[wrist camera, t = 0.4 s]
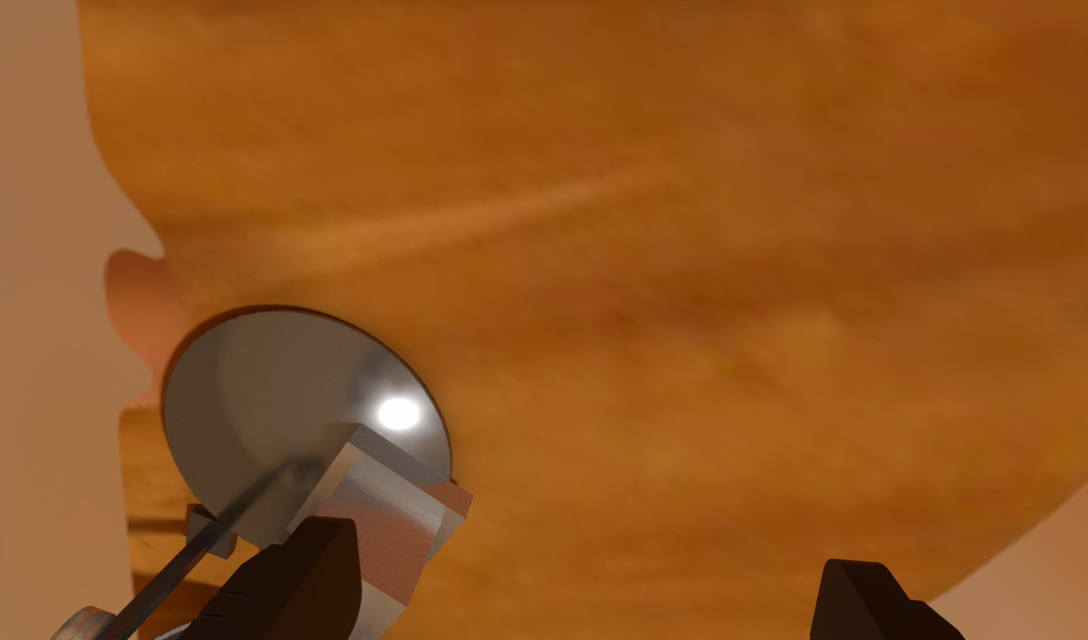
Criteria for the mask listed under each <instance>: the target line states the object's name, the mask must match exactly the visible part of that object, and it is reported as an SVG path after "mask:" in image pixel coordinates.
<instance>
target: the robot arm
mask: <svg viewBox="0 0 1088 640" xmlns="http://www.w3.org/2000/svg"><path fill="white" fill-rule="evenodd" d="M361 600H362V581H361V570H360V560H359V549H358V538H357V529H356V524H355V522H354V520H353V519H351V518H339V517H326V516H314V515H310V516H307V517H306V518H305V519H303V521H302V522H301V523H300V524H299V525H298V527H297V528H296V529H295V530H294V532H293V533H292V534H291V535H290V537H289V538H288V539H287V540H286V541H285V543H284V544H283V545H280V544H271V545H269V546H268V547H266V548H265V549H264V550H262V551H261V552H259V553H258V554H256V555H255V556H253V557H252V558H250V559H249V560H247V561H246V562H245V563H243V564H242V565H241V566H240V567H239V568H238V569H237V570H236V571H235V573H234V574H233V575H232V576H231V577H230V578H229V580H228V581H227V582H226V583H225V584H224V585H223V586H222V588H221V589H220V590H219V593H218V595H217V596H214V597H213V598H212V599H211V600H210V601H209V603H208V604H207V605H206V606H205V607H204V608H203V610H202V611H201V612H200V613H199V617H198V619H194V620H193V621H192V622H191V623H190V624H189V626H188V627H187V628H186V629H185V630H184V631H183V633H182V634H181V635H180V636H179V637H178V638H177V639H176V640H348V639H349V637H350V635H351V633H352V631H353V629H354V627H355V624H356V621H357V618H358V615H359V611H360V606H361ZM810 640H965V638H964V637H963V636H962V634H961V633H960V632H959V631H958V630H957V629H956V628H955V627H954V626H952V625H951V624H950V623H949V622H948V621H946V620H945V619H944V618H943V617H941V616H940V615H939V614H938V613H937V612H935V611H934V610H933V609H932V608H931V607H929V606H928V605H927V604H926V603H924V602H923V601H917V600H910V599H909V598H908V596H907V595H906V593H905V592H904V591H903V589H902V588H901V586H900V585H899V584H898V582H897V581H896V579H895V578H894V577H893V575H892V574H891V572H890V571H889V570H888V569H887V567H886V566H884V565H883V564H881V563H878V562H868V561H855V560H843V559H829V560H828V561H827V562H826V564H825V566H824V570H823V574H822V579H821V584H820V588H819V593H818V598H817V602H816V607H815V612H814V617H813V621H812V626H811V631H810Z"/></svg>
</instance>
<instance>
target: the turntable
mask: <svg viewBox="0 0 1088 640" xmlns="http://www.w3.org/2000/svg"><path fill="white" fill-rule="evenodd" d="M164 418H165V429H166V434H167V438H168V443H169V447H170V450H171V452H172V455H173V458H174V460H175V463H176V465H177V467H178V469H179V471H180V473H181V475H182V476H183V478H184V480H185V481H186V483H187V484H188V486H189V487H190V489H191V490H192V492H193V493H194V494H195V496H196V497H197V498H198V499H199V501H200V502H201V503H202V504H203V505H204V507H205V508H206V509H207V510H208V511H210V512H211V513H212V514H213V515H214V516H215V517H216V518H217V519H218V520H219V521H220V522H221V523H223V524H224V525H225V526H226V527H227V528H229V529H230V530H231V531H233V532H234V533H236V534H237V535H239V536H240V537H242V538H243V539H245V540H246V541H248V542H250V543H252V544H253V545H255V546H257V547H259V548H261V549H263V550H264V549H265V548H266V547H268V546H269V545H271V544H280V545H283V544H284V543H285V541H286V540H287V539H288V538H289V537H290V535H291V534H292V533H290V532H289V531H287V530H285V529H286V528H287V527H288V525H289V524H290V522H291V521H292V519H293V518H294V517H295V515H296V514H297V512H298V511H299V510H300V508H301V507H302V505H303V504H304V502H305V501H306V500H307V498H308V497H309V495H310V494H311V493H312V491H313V490H314V488H315V487H316V485H317V484H318V483H319V481H320V480H321V478H322V477H323V475H324V474H325V473H326V471H327V470H328V468H329V467H330V466H331V464H332V463H333V461H334V460H335V458H336V457H337V456H338V454H339V453H340V451H341V450H342V448H343V447H344V446H345V444H346V443H347V441H348V440H349V439H350V438H351V436H352V435H353V434H354V433H355V431H356V430H357V429H358V428H359V426H360V425H361V424H362V423H363V424H364V425H366V426H367V427H369V428H370V429H372V430H373V431H375V432H376V433H378V434H379V435H381V436H383V437H384V438H386V439H387V440H389V441H390V442H392V443H393V444H395V445H396V446H398V447H399V448H401V449H402V450H404V451H405V452H407V453H408V454H410V455H411V456H413V457H414V458H416V459H417V460H419V461H420V462H422V463H423V464H425V465H426V466H428V467H430V468H431V469H433V470H434V471H436V472H437V473H439V474H440V475H442V476H443V477H445V478H446V479H448V480H449V481H451V474H452V450H451V444H450V438H449V433H448V430H447V427H446V424H445V421H444V418H443V416H442V414H441V411H440V409H439V407H438V405H437V403H436V401H435V399H434V398H433V396H432V395H431V393H430V391H429V390H428V388H427V387H426V385H425V384H424V382H423V381H422V380H421V379H420V378H419V376H418V375H417V374H416V373H415V371H414V370H413V369H412V368H411V367H410V366H409V365H408V364H407V363H406V362H405V361H404V360H403V359H402V358H401V357H400V356H399V355H398V354H396V353H395V352H394V351H392V350H391V349H390V348H389V347H387V346H386V345H385V344H383V343H382V342H381V341H379V340H378V339H376V338H374V337H373V336H371V335H369V334H368V333H366V332H364V331H363V330H361V329H358V328H356V327H354V326H352V325H350V324H348V323H345V322H343V321H340V320H337V319H334V318H331V317H328V316H325V315H321V314H316V313H311V312H306V311H299V310H286V309H278V310H262V311H257V312H252V313H247V314H243V315H241V316H238V317H235V318H232V319H229V320H227V321H225V322H223V323H221V324H219V325H218V326H216V327H214V328H212V329H210V330H209V331H207V332H205V333H204V334H203V335H202V336H200V337H199V338H198V339H197V340H195V341H194V342H193V343H192V344H191V345H190V346H189V348H188V349H187V350H186V351H185V352H184V353H183V354H182V356H181V358H180V359H179V361H178V363H177V364H176V366H175V367H174V370H173V372H172V375H171V377H170V380H169V382H168V387H167V391H166V396H165V407H164Z"/></svg>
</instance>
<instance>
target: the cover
mask: <svg viewBox="0 0 1088 640" xmlns="http://www.w3.org/2000/svg"><path fill="white" fill-rule="evenodd" d="M472 498H473V496H472V495H471V494H469V493H468V492H466V491H465V490H463V489H462V488H460V487H459V486H457V485H455V484H454V483H452V482H451V481H449V480H448V479H446V478H445V477H443V476H442V475H440V474H439V473H437V472H436V471H434V470H433V469H431V468H430V467H428V466H426V465H425V464H423V463H422V462H420V461H419V460H417V459H416V458H414V457H413V456H411V455H410V454H408V453H407V452H405V451H404V450H402V449H401V448H399V447H398V446H396V445H395V444H393V443H392V442H390V441H389V440H387V439H386V438H384V437H383V436H381V435H379V434H378V433H376V432H375V431H373V430H372V429H370V428H369V427H367V426H366V425H364V424H363V423H362V424H361V425H360V426H359V428H358V429H357V430H356V431H355V433H354V434H353V435H352V436H351V438H350V439H349V440H348V441H347V443H346V444H345V446H344V447H343V448H342V450H341V451H340V453H339V454H338V456H337V457H336V458H335V460H334V461H333V463H332V464H331V466H330V467H329V468H328V470H327V471H326V473H325V474H324V475H323V477H322V478H321V480H320V481H319V483H318V484H317V485H316V487H315V488H314V490H313V491H312V493H311V494H310V495H309V497H308V498H307V500H306V501H305V502H304V504H303V505H302V507H301V508H300V510H299V511H298V512H297V514H296V515H295V517H294V518H293V519H292V521H291V522H290V524H289V525H288V527H287V528H286V529H285V530H287V531H289V532H290V533H293V532H294V530H295V529H296V528H297V527H298V525H299V524H300V523H301V522H302V521H303V519H305V518H306V517H307V516H310V515H314V516H326V517H339V518H351V519H353V520H354V522H355V524H356V529H357V538H358V549H359V560H360V570H361V581H362V600H361V606H360V611H359V615H358V618H357V621H356V624H355V627H354V629H353V631H352V633H351V635H350V637H349V639H348V640H378V639H379V638H380V637H381V636H382V635H383V634H384V633H385V631H386V630H387V629H388V628H389V627H390V626H391V625H392V624H393V622H394V621H395V620H396V619H397V618H398V617H399V616H400V615H401V614H402V612H403V611H404V610H405V609H406V608H407V606H408V604H409V601H410V599H411V596H412V594H413V591H414V589H415V586H416V584H417V581H418V579H419V576H420V574H421V571H422V569H423V567H424V566H425V565H426V563H427V562H428V561H429V560H430V559H431V558H432V557H433V555H434V554H435V553H436V552H437V551H438V550H439V549H440V547H441V546H442V545H443V544H444V543H445V542H446V541H447V539H448V538H449V537H450V536H451V535H452V534H453V533H454V531H455V530H456V529H457V528H458V527H459V526H460V525H461V523H462V522H463V521H464V520H465V519H466V516H467V513H468V510H469V507H470V504H471V501H472Z"/></svg>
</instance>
